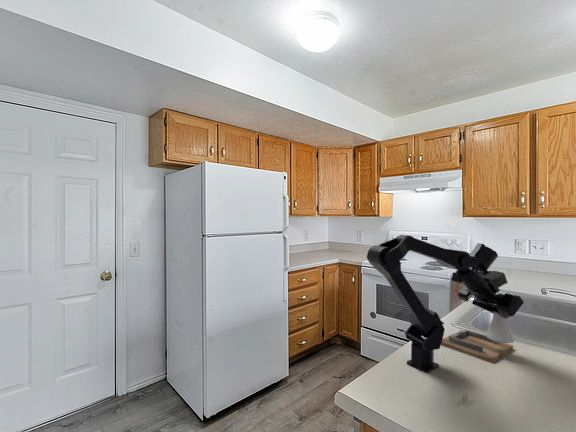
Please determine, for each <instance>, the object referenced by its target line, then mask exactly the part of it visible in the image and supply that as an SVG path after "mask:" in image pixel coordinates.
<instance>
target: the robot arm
mask: <svg viewBox="0 0 576 432" xmlns="http://www.w3.org/2000/svg"><path fill="white" fill-rule="evenodd" d="M409 252H412V253H415V254H418V255H421V256H424V257H427V258H430V259H433V260H434V261H436V262H437V264H440V265H441V266H444V267H445V268H448V269H453V270H456V271H455V272H452V275H451V282H454V283H459V284H463V286H462V287H461V288H460V289H459V291H458V292H457V296H458V298H459V299H460V300H461V301H463V302H466V303H468V302H469V300H471V301H472V302H471V304H472V305H474V306H476V307H477V308H480V309H482V310H484V311H486V312H489V313H491V314H493V315H494V312H495V313H497V314H498V315H500V316H502V317H504V318H505V320H508V318H509V317H514V316H515V315H516V313H517V312H518V311H519V310H520V308H521V307H522V306H523V304H524V303H525V302H524V300H523V298H522V297H521V296H520V295H517V294H514V293H510V292H506V293H499V292H500V291H501V290H500V288H501V287H502V286H505V285H507V284H508V280H507V277H506V274H505V273H504V272H501V271H496V270H489V268H490V267H491V266H492V265H493V264H494V262H495V261H496V260H497V258H498V257H499V255H498V253H497V252H496V250H493V249H492V248H491V247H489V246H487V245H485V244H484V243H479V242H478V243H476V245H475V246H474V248H473V249H472V251H471V252H470V253H469V252H467V251H463V250H457V249H456V250H455V249H450V248H444V247H441V246H438V245H436V244H432V243H429V242H426V241H425V240H421V239H417V238H415V237H414V236H412V235H409V234H408V235H406V234H405V235H404V234H399V235H397V236H396V237H394V238H392V239H390V240H386V241H384V242H382V243H380V244H378V245H377V244H376V245H372V246H371V247H370V248H369V249H368V251H367V255H366V259H367V261H368V263H369V264H370V265H371V266H372V267H373V268H374V269H375V270H376V271H377V272H378V273H380V274H381V275H382V276H384V278H386V280H387V282H388V283H389V285H390V287H392V290H393V291H394V293H395V294H396V295H397V297H398V298H399V300H400V302H401V303H402V305H403V306H404V308H405V310H406V311H407V312H408V314H409V322H410V326H409V327H408V328H407V329H406V331H405V332H404V335H405V338H406V339H407V340H409V341H411V344H410V345H411V348H410V349H411V350H410V353H411V356H410V357H411V358H410V359H409V360H407V361H406V364H407V365H410V366H411V367H412V368H413V367H414V368H416V369H418V370H419V371H423V372H425V373H430V372H431V371H433V370H435V369H436V368H438V367H440V364H439V363H436V362H435V358H434V357H435V352H434V351H435V350H440V348H441V346H442V345H441V342H442V339H443V338H444V335H445V331H446V330H445V327H444V324H445V322H443V320H441V318H440V316H439V314H438V312H436V311H434V310H431V309H428V308H426V307H425V306H424V304H423V303H422V301H421V300H420V298H419V297H418V295H417V294H416V292H415V290H414V289H413V287H412V286H411V284H410V283H409V281H408V280H407V278H406V276H405V275H404V273H403V272H402V267H401V266H402V265H401V264H402V262H401V260H402V259H403V258H405V256H406V255H408V253H409ZM469 296H470V297H469ZM493 306H494V307H493Z"/></svg>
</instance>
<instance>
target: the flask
mask: <svg viewBox="0 0 576 432" xmlns="http://www.w3.org/2000/svg"><path fill="white" fill-rule="evenodd" d="M493 307H494V306H493ZM485 335H486V337H487V338H489V339H491V340H493V341H496V342H502V343H507V344H510V343H511V344H512V343H515V342H514V339H513V337H512V334H511V332H510V329H509V327H508V323H507V319H506V318H504V317H502V316H500V315H498V314H497V313H495V312H494V314H493V317H492V320H491V322H490V324H489V327H488V329H487V331H486V333H485Z"/></svg>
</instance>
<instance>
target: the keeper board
mask: <svg viewBox="0 0 576 432" xmlns="http://www.w3.org/2000/svg"><path fill="white" fill-rule="evenodd" d="M441 346H442V347H446V348H449V349H452V350H454V351H457V352H460V353H462V354H466V355H468V356H471V357H474V358H476V359H479V360H483V361H486V362H488V363H490V364H492V363H494V362H496V361H498V359H500V358H502V357H504V356H505V355H506V354H508V353H510V352H511V351H513V350H514V345H512V344H510V343H502V342H496V341H493V340H491V339H489V338H487V337H486V334H482V333H479V332H476V331H473V330H469V329H466V328H465V329H463V330H462V329H461V330H460V331H457V332H455V333H453V334H451V335H450V334H449V335H448V336H446V337H443V339H442V342H441Z"/></svg>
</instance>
